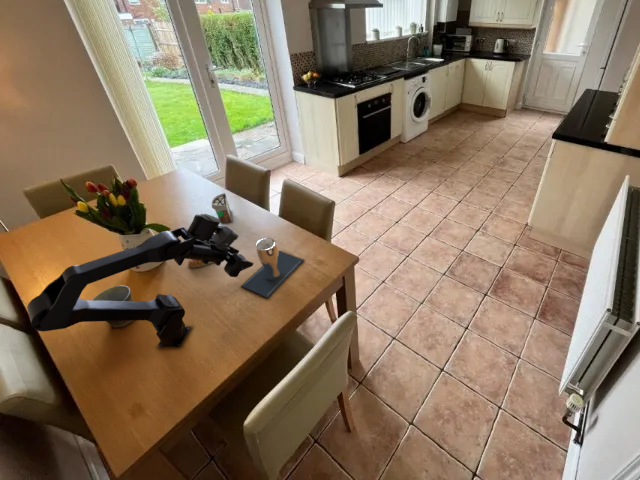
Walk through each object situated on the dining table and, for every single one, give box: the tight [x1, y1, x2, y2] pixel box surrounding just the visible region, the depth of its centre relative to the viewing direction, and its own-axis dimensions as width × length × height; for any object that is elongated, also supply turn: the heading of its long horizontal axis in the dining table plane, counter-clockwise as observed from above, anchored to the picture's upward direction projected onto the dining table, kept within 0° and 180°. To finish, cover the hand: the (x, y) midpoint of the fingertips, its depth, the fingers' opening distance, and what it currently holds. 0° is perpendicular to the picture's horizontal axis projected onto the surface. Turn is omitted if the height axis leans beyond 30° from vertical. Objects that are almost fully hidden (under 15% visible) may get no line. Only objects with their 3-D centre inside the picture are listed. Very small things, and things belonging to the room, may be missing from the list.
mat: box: [241, 250, 304, 299], centre depth 118 cm, size 20×12×1 cm, turn 155°
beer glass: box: [255, 237, 282, 280], centre depth 113 cm, size 7×7×15 cm
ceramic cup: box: [92, 284, 134, 328], centre depth 98 cm, size 13×10×10 cm
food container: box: [211, 192, 232, 224], centre depth 144 cm, size 12×6×10 cm, turn 25°
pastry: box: [187, 259, 213, 269], centre depth 122 cm, size 9×7×4 cm
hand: (245, 258), depth 106 cm, fingers open, 9 cm apart
